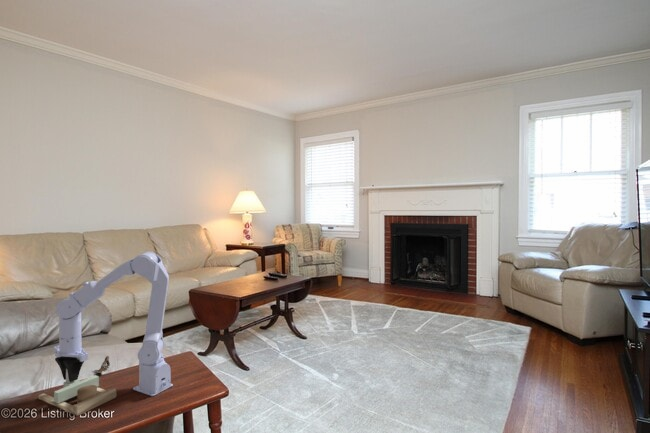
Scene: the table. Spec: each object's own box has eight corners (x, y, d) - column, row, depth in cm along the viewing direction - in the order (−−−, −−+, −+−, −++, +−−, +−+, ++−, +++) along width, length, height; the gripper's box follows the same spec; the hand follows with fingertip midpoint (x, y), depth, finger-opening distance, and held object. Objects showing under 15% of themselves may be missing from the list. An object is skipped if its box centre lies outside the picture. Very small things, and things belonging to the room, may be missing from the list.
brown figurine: (112, 363, 137) (110, 354, 135) (103, 381, 130) (100, 372, 128) (107, 363, 136) (105, 354, 135) (97, 381, 129) (95, 372, 127)
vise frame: (116, 397, 114) (116, 389, 114) (77, 415, 104) (77, 407, 104) (77, 382, 123) (77, 375, 123) (38, 398, 113) (38, 390, 113)
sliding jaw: (98, 385, 118) (98, 364, 118) (58, 403, 108) (57, 379, 107) (87, 381, 121) (87, 360, 121) (47, 398, 110) (46, 375, 110)
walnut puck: (100, 400, 113) (100, 387, 112) (83, 408, 108) (83, 394, 108) (90, 396, 115) (90, 383, 115) (73, 404, 110) (73, 390, 110)
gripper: (42, 336, 114) (43, 379, 115) (70, 344, 108) (70, 390, 108) (67, 329, 121) (67, 370, 121) (94, 336, 114) (95, 380, 114)
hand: (70, 379), depth 115 cm, fingers closed on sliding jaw, 2 cm apart
